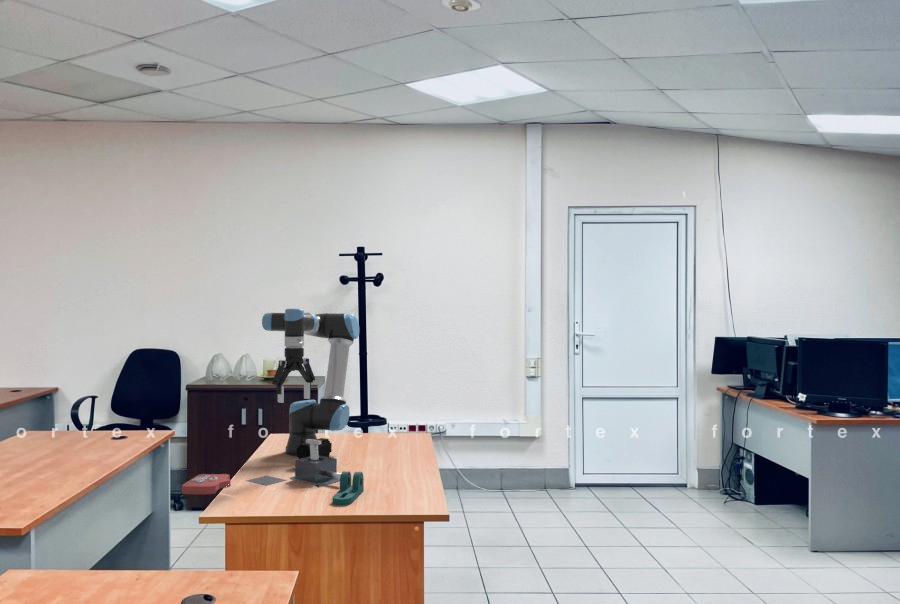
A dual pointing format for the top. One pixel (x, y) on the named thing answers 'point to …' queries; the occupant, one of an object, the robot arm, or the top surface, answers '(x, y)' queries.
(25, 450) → the top surface
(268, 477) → the mat
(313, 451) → the silver grey long piece
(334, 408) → the robot arm
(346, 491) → the bracket
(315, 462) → the hollow square block
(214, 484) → the plaque
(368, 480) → the top surface
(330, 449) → the security camera
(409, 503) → the top surface
